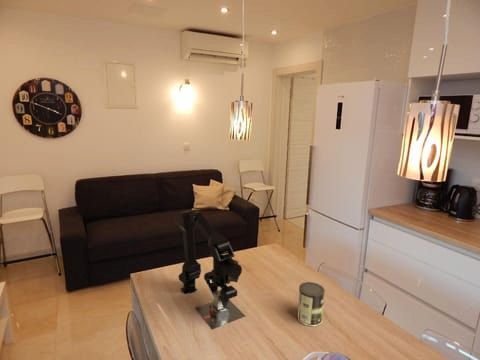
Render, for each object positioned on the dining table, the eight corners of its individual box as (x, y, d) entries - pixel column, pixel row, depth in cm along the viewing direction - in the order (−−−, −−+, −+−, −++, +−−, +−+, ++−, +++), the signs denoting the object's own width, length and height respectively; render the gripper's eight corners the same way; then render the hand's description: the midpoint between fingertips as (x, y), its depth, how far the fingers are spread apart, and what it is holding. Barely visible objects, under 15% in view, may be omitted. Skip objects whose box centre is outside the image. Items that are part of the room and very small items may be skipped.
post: (213, 310, 133) (213, 292, 131) (221, 307, 136) (221, 289, 134) (217, 316, 130) (217, 297, 128) (226, 313, 132) (226, 294, 130)
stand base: (194, 310, 135) (194, 302, 134) (226, 298, 144) (226, 292, 143) (211, 331, 122) (211, 324, 121) (245, 318, 131) (245, 310, 130)
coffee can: (321, 312, 135) (323, 283, 132) (322, 328, 125) (325, 297, 122) (297, 309, 137) (299, 280, 134) (296, 324, 127) (298, 293, 124)
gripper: (248, 273, 125) (247, 308, 128) (225, 255, 140) (225, 286, 144) (224, 281, 119) (224, 317, 122) (203, 261, 134) (203, 293, 138)
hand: (219, 302), depth 132 cm, fingers open, 8 cm apart
